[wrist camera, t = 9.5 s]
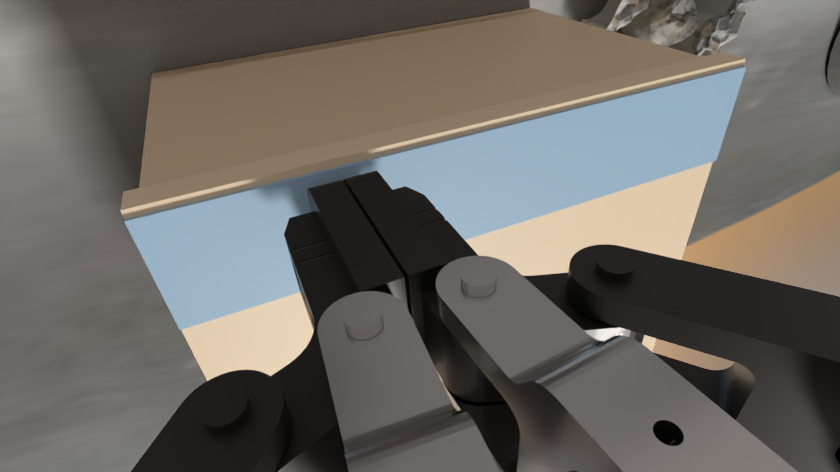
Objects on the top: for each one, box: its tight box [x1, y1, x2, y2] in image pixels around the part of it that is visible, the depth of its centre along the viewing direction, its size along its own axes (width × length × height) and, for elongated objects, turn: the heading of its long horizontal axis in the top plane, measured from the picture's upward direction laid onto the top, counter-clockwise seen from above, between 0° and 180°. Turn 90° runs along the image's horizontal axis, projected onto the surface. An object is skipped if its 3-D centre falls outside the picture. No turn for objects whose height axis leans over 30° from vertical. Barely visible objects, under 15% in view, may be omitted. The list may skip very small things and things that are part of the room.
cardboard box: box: [139, 8, 701, 188], centre depth 21 cm, size 16×16×10 cm
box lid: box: [120, 52, 746, 381], centre depth 17 cm, size 16×16×1 cm
